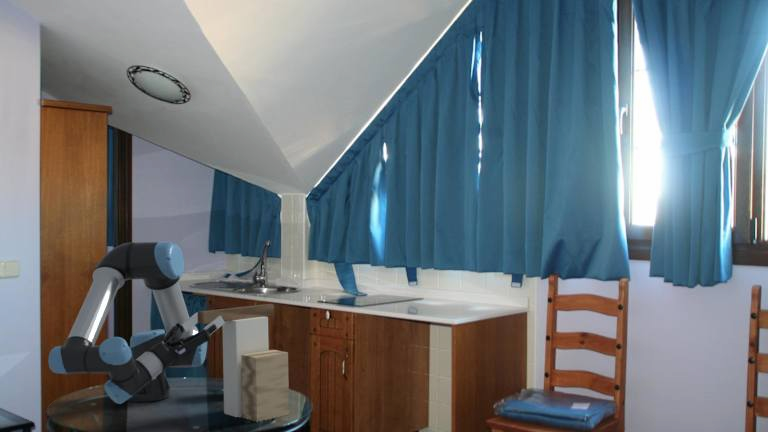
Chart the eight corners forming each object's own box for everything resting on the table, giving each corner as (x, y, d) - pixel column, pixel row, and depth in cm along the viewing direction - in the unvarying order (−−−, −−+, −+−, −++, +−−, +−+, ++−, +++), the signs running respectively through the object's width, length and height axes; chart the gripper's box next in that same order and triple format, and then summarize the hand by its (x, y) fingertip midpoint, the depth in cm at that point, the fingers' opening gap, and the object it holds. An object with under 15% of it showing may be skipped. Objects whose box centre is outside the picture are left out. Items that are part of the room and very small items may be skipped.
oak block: (242, 417, 226) (241, 354, 227) (274, 410, 235) (273, 349, 235) (257, 422, 221) (255, 357, 221) (289, 414, 229) (287, 352, 229)
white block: (224, 413, 232) (222, 319, 233) (255, 406, 241) (254, 315, 241) (237, 417, 226) (236, 321, 227) (269, 410, 235) (268, 317, 235)
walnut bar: (197, 323, 224) (197, 311, 224) (268, 314, 242) (267, 304, 242) (203, 324, 222) (203, 312, 222) (274, 315, 240) (273, 304, 240)
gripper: (142, 365, 222) (196, 323, 235) (182, 376, 204) (238, 331, 217) (130, 346, 220) (185, 304, 232) (169, 355, 202) (226, 310, 214)
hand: (210, 317), depth 225 cm, fingers open, 13 cm apart
